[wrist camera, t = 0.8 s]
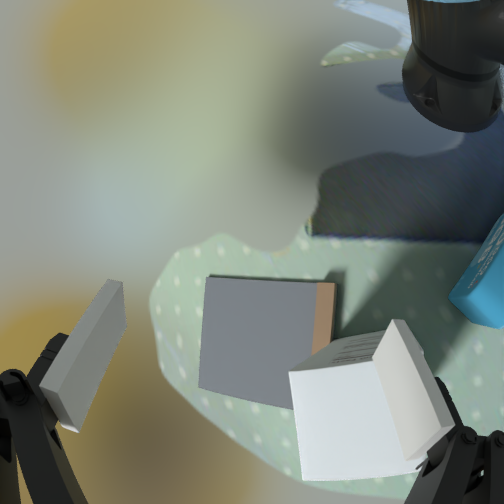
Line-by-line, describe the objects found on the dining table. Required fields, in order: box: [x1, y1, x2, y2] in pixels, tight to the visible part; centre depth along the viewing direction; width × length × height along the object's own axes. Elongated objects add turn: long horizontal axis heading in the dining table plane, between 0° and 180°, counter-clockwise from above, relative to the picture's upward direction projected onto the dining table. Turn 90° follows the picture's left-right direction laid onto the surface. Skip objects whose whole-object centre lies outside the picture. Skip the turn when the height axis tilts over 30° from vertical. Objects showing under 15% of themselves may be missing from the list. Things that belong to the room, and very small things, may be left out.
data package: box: [448, 213, 504, 329], centre depth 22 cm, size 12×4×12 cm, turn 136°
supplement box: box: [288, 328, 426, 481], centre depth 24 cm, size 10×9×17 cm
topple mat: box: [198, 277, 338, 410], centre depth 37 cm, size 18×16×2 cm
